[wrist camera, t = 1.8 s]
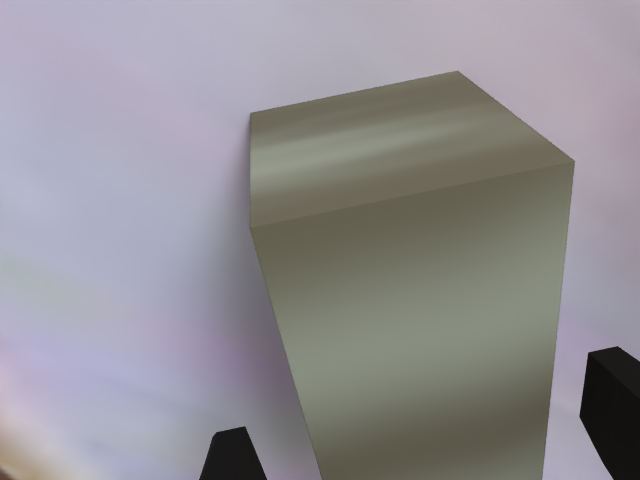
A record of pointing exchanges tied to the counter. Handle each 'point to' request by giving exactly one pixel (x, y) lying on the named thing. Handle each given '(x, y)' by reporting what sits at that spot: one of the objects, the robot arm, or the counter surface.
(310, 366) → the olive green rectangular block
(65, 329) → the counter surface
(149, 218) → the counter surface
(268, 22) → the counter surface
